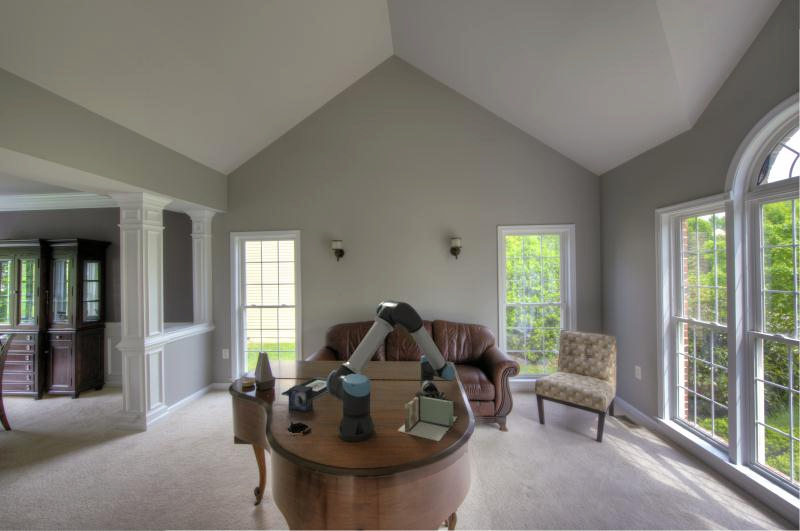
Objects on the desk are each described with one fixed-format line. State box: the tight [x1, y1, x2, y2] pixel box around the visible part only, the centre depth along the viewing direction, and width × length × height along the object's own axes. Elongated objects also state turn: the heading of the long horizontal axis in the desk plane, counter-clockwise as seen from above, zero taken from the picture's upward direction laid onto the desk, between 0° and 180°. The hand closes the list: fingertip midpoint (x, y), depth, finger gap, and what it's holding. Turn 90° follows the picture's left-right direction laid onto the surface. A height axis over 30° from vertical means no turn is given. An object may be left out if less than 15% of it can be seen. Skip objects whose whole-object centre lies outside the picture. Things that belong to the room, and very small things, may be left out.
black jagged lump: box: [286, 420, 312, 435], centre depth 141 cm, size 12×10×5 cm
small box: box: [288, 384, 314, 413], centre depth 165 cm, size 11×6×10 cm, turn 73°
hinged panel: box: [420, 396, 454, 427], centre depth 146 cm, size 15×2×10 cm, turn 64°
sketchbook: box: [281, 376, 329, 400], centre depth 194 cm, size 22×30×2 cm
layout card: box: [397, 415, 458, 442], centre depth 147 cm, size 24×19×1 cm
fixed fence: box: [404, 390, 422, 432], centre depth 145 cm, size 14×3×14 cm, turn 153°
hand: (436, 408), depth 148 cm, fingers closed
